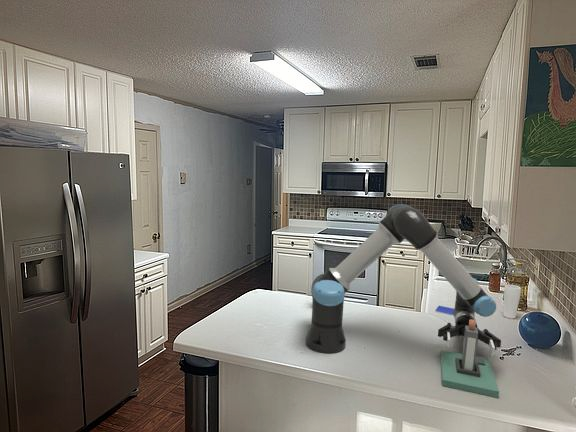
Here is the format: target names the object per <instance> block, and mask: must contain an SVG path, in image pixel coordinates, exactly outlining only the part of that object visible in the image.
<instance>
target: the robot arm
mask: <svg viewBox="0 0 576 432" xmlns="http://www.w3.org/2000/svg"><path fill="white" fill-rule="evenodd" d="M438 234H439V232H437V230H435V228H434V227H433V226H432V224H431V223H430V221H429V220H428V219H427V218H426V217H425V215H424V213H422V212H421V211H420V210H418V209H417V208H414V207H412V206H410V205H407V204H403V203H402V204H396V205H393V206H391V207H390V208H389V209H388V211H387V212H386V214H385V216H384V217H383V218H381V220H380V221H379V222H378V228H377V229H376V230H375V231H374V232H373V233H371V235H369V236H368V237H367V238H366V239H364V241H363V242H361V244H360V245H358V246H357V247H356V248H355V249H354V250H353V251H352V252H351V253H350V254H349V255H348V256H347V257H346V258H345V259H343V260H342V261H341V262H340V263H339V264H338V265H337V266H335V267H329V268H328V269H327V270H326V271H325V272H324V273H321V274H318V275H316V277H314V279H313V281H312V284H311V298H312V299H311V300H312V303H311V304H312V306H311V324H310V325H309V328H308V331H307V334H306V337H305V345H306V346H307V347H308V348H309V349H311V350H312V351H315V352H318V353H324V354H334V353H339V352H341V351H343V350H344V349H345V348H346V346H347V345H346V342H347V341H346V340H347V339H346V335H345V331H344V329H343V316H344V315H343V314H344V300H345V296H346V293H347V292H348V291H350V287H351V286H350V285H351V283H352V282H353V281H354V280H356V279H357V278H358V277H359V276H360V275H361V274H362V273H363V272H364V271H365V270H367V269H368V268H369V267H371V265H372V264H373V263H374V262H376V261H377V260H378V258H380V257H382V255H383V254H384V253H385V252H386V251H388V250H389V249H390V248H391V247H392V246H393V245H395V244H398V245H399V244H401V243H403V241H405V240H406V241H407V242H408V243H410V244H411V245H412V247H413V248H414V249H415V250H417V251H420V252H421V253H422V254H423V255H424V256H425V257H426V259H428V260H429V262H430V263H431V264H432V266H434V268H436V269H437V270H438V272H439V273H440V274H441V275H442V276H443V277H444V278H445V280H446V281H447V282H448V283H449V284H450V285H451V286H452V288H453V289H454V290H455V294H456V295H455V301H454V307H453V309H454V312H453V314H454V316H453V317H454V325H453V324H452V323H451V322H447V324H446V325H444V326H442V327H440V328H438V331H437V337H439V338H441V337H442V340H443V341H444V342H446V347H447V348H450V346H451V338H453V337H464V333H465V326H469V320H470V319H472V320H475V321H476V325H475V327H477V330H478V340H479V341H481V342H482V343H484V344H486V345H488V348H489V351H490V352H489V353H490V355H491V356H493V357H494V356H495V351H497V350H498V348H501V347H502V346H501V345H502V340H501V339H500V338H499V337H497V335H496V336H495V335H494V334H493V333H492V332H490V331H489V330H488V329H487V328H484V329H483V330H480V328H479V327H478V325H477V320H476V318H475V317H476V316H475V315H476V314H477V315H478V316H481V317H483V318H487V317H491V316H492V315H494V314H495V312H496V310H497V303H496V301H495V300H494V299H493V298H492V297H491V296H489V295H488V294H487V293H486V292H485V291H484V289H483V288H482V287H481V286H480V285H479V280H478V279H476V278H475V277H473V276H472V275H471V274H470V273H469V272H468V270H466V268H464V267H463V265H462V264H461V263H460V262H459V260H457V258H456V257H455V256H454V254H452V253H451V251H450V250H449V249H448V248H447V247H446V246H445V244H444V243H443V242H442V241H441V240H440V238H438ZM475 313H476V314H475ZM478 340H477V341H478Z"/></svg>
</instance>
